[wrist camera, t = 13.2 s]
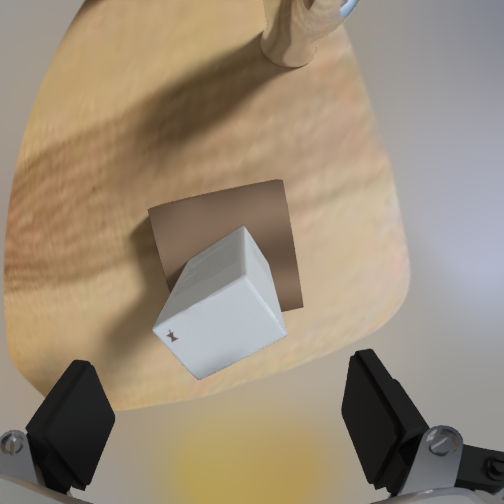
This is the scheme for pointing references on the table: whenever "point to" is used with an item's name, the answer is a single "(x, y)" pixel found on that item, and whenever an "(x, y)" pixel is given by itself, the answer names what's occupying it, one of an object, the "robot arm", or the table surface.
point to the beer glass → (300, 28)
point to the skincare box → (221, 307)
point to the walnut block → (224, 223)
